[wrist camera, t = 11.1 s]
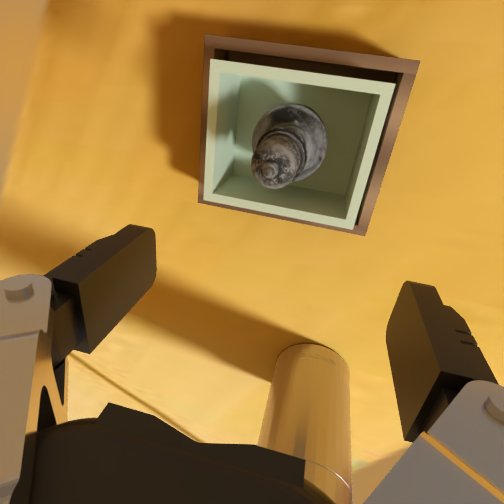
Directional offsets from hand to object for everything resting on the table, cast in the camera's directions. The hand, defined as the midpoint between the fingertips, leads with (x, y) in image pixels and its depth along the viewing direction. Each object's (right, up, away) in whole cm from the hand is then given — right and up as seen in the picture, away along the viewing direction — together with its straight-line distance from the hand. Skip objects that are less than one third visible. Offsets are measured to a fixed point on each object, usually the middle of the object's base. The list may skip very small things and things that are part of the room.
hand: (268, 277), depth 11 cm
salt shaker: (+3, +11, +18) cm, 22 cm away
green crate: (+3, +11, +19) cm, 22 cm away
